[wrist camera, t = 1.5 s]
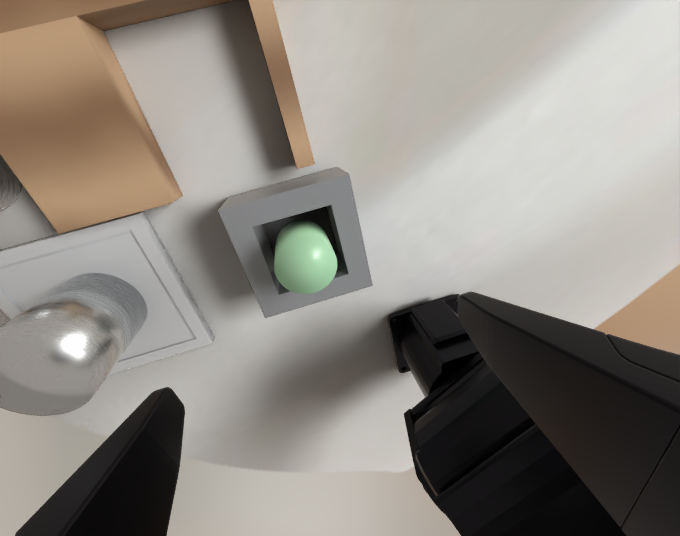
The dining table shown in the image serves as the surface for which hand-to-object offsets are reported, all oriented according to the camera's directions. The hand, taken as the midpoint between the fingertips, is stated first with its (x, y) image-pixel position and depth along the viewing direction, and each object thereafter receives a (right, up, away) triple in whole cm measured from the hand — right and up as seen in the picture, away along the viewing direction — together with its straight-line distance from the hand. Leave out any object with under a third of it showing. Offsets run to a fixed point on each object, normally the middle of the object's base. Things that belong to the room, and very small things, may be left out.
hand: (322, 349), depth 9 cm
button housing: (-2, +5, +11) cm, 12 cm away
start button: (-2, +4, +9) cm, 10 cm away
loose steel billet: (-15, 0, +10) cm, 18 cm away
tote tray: (-15, 0, +10) cm, 18 cm away
